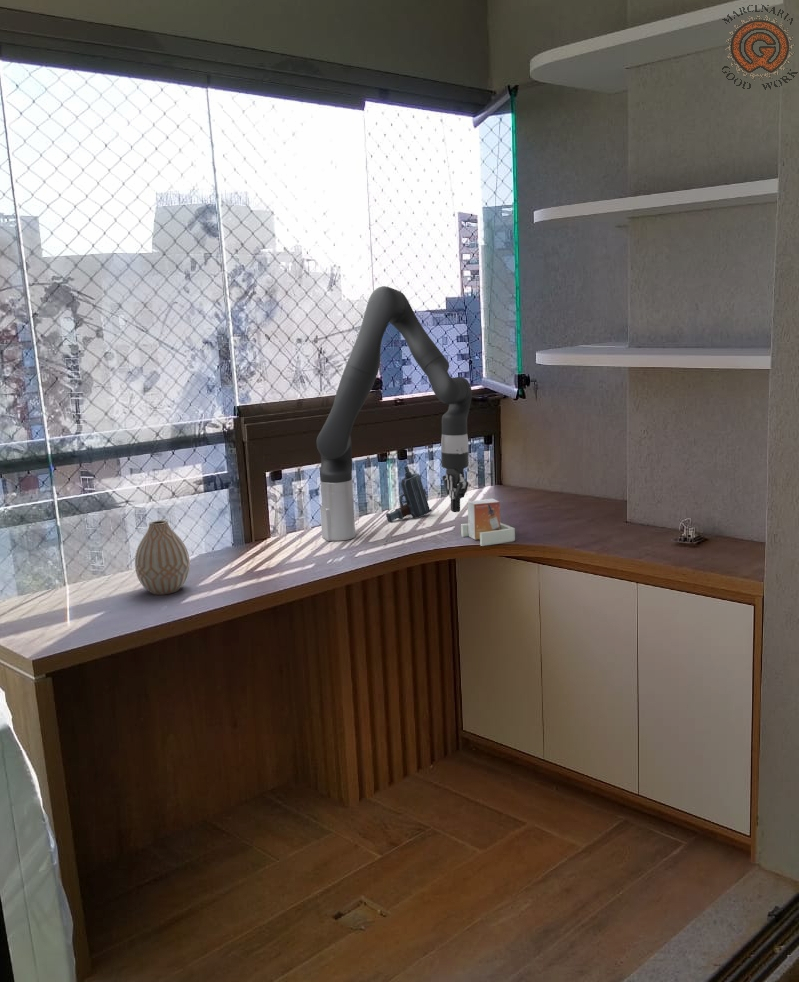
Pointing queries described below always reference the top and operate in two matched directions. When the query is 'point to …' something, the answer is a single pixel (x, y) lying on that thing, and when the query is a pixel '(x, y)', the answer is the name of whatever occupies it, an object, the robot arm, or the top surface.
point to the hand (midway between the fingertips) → (455, 511)
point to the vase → (162, 559)
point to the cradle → (493, 535)
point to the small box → (483, 517)
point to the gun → (411, 498)
